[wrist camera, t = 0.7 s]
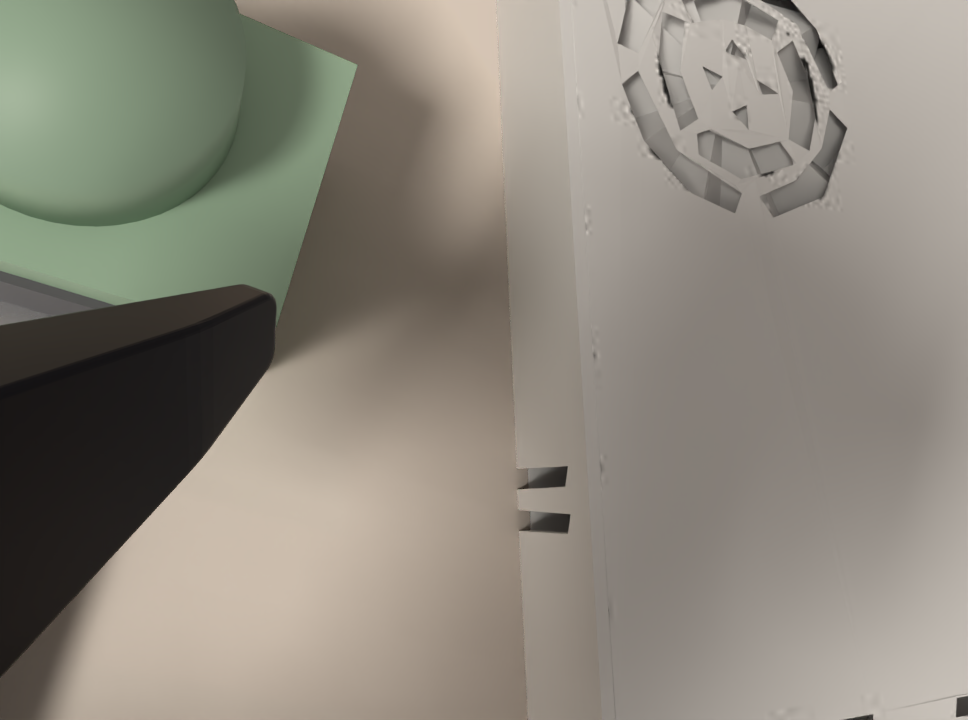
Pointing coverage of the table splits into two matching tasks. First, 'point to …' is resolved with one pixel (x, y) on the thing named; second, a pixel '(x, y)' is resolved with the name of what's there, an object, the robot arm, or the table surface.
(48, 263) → the green domed block
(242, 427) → the table surface
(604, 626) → the power supply unit
